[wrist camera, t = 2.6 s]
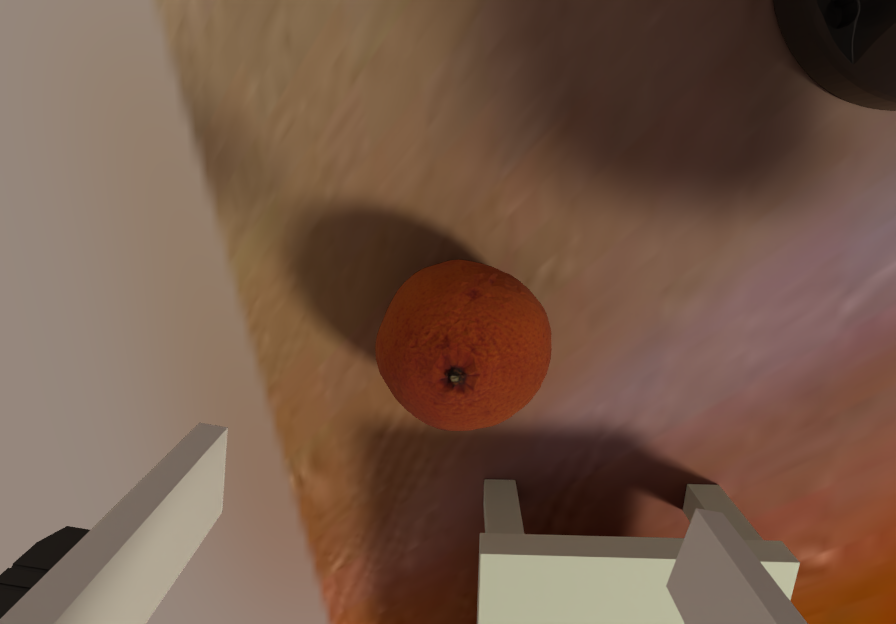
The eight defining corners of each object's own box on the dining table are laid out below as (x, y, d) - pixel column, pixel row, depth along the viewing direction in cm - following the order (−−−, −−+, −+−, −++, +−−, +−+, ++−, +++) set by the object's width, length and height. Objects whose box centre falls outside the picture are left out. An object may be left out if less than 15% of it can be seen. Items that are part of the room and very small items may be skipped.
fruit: (365, 359, 30) (332, 426, 22) (425, 226, 28) (411, 249, 20) (496, 417, 31) (508, 500, 23) (566, 292, 28) (604, 338, 21)
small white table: (476, 472, 32) (480, 553, 25) (727, 478, 31) (800, 562, 25) (471, 660, 36) (473, 772, 30) (690, 667, 36) (743, 782, 29)
